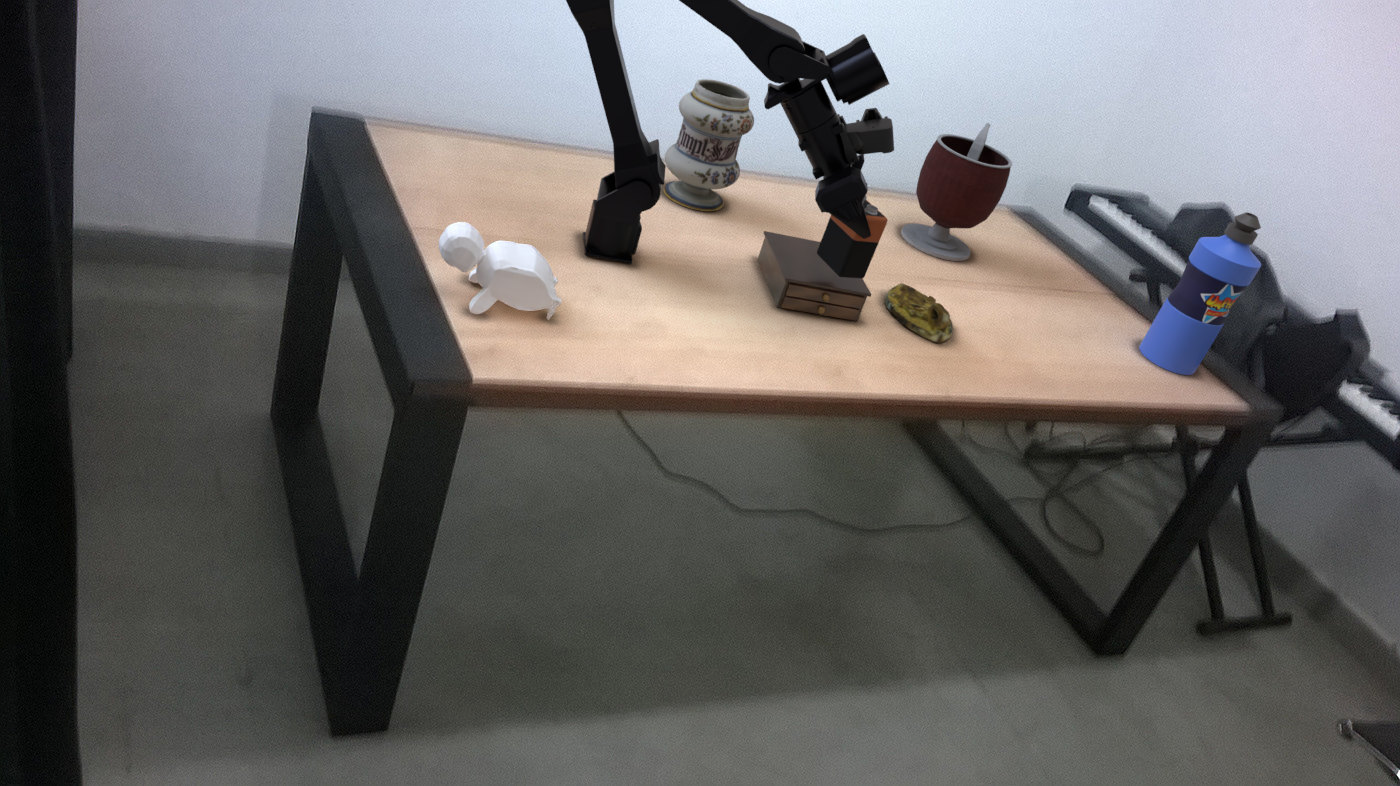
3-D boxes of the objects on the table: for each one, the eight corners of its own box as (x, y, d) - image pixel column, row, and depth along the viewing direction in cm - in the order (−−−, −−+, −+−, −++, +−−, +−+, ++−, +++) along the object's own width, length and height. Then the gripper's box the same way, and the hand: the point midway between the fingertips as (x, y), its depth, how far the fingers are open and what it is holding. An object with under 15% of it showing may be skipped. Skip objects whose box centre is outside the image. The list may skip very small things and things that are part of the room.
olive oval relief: (867, 293, 159) (911, 346, 148) (875, 265, 157) (920, 317, 145) (922, 293, 162) (969, 345, 151) (931, 266, 160) (979, 316, 148)
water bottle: (1207, 378, 165) (1297, 234, 152) (1159, 371, 162) (1246, 224, 149) (1174, 346, 173) (1256, 206, 160) (1127, 339, 170) (1207, 196, 157)
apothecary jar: (692, 178, 177) (722, 72, 167) (744, 210, 171) (778, 103, 162) (640, 184, 168) (669, 73, 159) (693, 218, 162) (726, 106, 153)
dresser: (776, 311, 143) (787, 281, 141) (754, 258, 156) (764, 230, 154) (861, 326, 147) (873, 297, 144) (833, 273, 159) (844, 246, 157)
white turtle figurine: (530, 309, 132) (421, 251, 125) (568, 257, 129) (458, 194, 122) (534, 346, 125) (419, 286, 118) (575, 291, 122) (459, 227, 115)
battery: (840, 255, 148) (866, 189, 143) (864, 280, 143) (892, 213, 138) (814, 253, 146) (839, 186, 141) (838, 278, 141) (866, 210, 136)
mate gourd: (967, 272, 175) (1018, 158, 165) (888, 239, 178) (934, 126, 167) (980, 244, 188) (1028, 138, 178) (906, 215, 191) (950, 108, 180)
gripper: (877, 113, 125) (929, 226, 131) (871, 74, 141) (917, 176, 147) (791, 156, 128) (846, 263, 134) (794, 112, 144) (843, 210, 150)
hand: (866, 225), depth 141 cm, fingers closed on battery, 7 cm apart
